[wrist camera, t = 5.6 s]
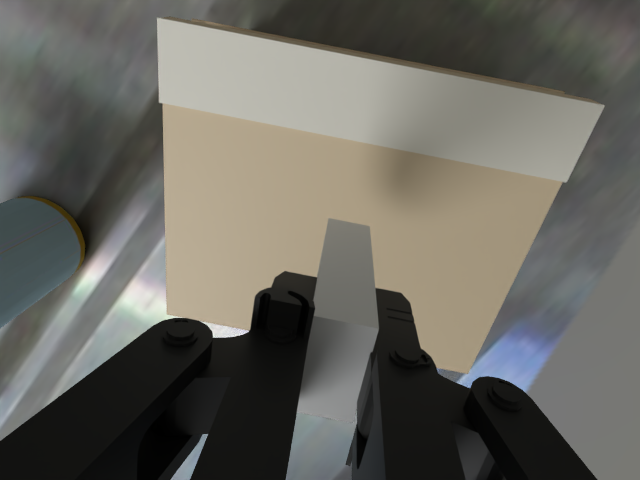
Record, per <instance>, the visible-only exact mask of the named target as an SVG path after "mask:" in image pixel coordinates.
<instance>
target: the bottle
mask: <svg viewBox="0 0 640 480" xmlns="http://www.w3.org/2000/svg"><path fill="white" fill-rule="evenodd" d="M84 256H85V243H84V239H83V236H82V233H81V230H80V228H79V227H78V225H77V224H76V222H75V220H74V219H73V218H72V217H71V216H70V215H69V214H68V213H67V212H66V211H65V210H64V209H63V208H61V207H60V206H58V205H57V204H55V203H53V202H51V201H49V200H47V199H43V198H40V197H36V196H22V197H17V198H15V199H11V200H8V201H6V202H3V203H0V328H1V327H3V326H4V325H5V324H7V323H8V322H10V321H11V320H12V319H14V318H15V317H16V316H18V315H19V314H20V313H22V312H23V311H25V310H26V309H27V308H29V307H30V306H31V305H33V304H34V303H35V302H37V301H38V300H40V299H41V298H42V297H44V296H45V295H46V294H48V293H49V292H50V291H52V290H53V289H54V288H56V287H57V286H59V285H60V284H61V283H63V282H64V281H65V280H67V279H68V278H69V277H70V276H71V275H73V274H74V273H75V272H76V271H77V270H78V269H79V268H80V266H81V264H82V262H83V260H84Z"/></svg>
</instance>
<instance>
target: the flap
mask: <svg viewBox="0 0 640 480" xmlns="http://www.w3.org/2000/svg"><path fill="white" fill-rule="evenodd" d="M157 36H158V78H159V103H163V146H164V197H165V248H166V299H167V314H168V315H173V316H178V317H183V318H189V319H193V320H198V321H203V322H208V323H213V324H218V325H223V326H228V327H234V328H239V329H244V330H250V327H251V320H252V313H253V306H254V299H255V296H256V294H257V293H258V292H259V291H261V290H263V289H266V288H270V287H271V286H272V284H273V281H274V278H275V277H276V276H278V275H279V274H281V273H282V272H284V271H288V272H293V273H298V274H303V275H308V276H313V277H317V273H318V268H319V263H320V258H321V253H322V248H323V243H324V238H325V233H326V228H327V223H328V218H331V219H336V220H341V221H346V222H352V223H357V224H362V225H367V226H370V234H371V246H372V257H373V268H374V279H375V288H380V289H385V290H390V291H395V292H400V293H402V294H403V295H404V296H405V298H406V299H407V300H408V301H409V302H410V304H411V309H412V315H413V317H414V323H415V326H416V330H417V335H418V339H419V343H420V347H421V349H423V350H424V351H425V352H426V353H427V354H429V355H430V356H431V357H432V359H433V361H434V363H435V365H436V368H440V369H446V370H451V371H456V372H461V373H466V374H468V373H469V371H470V369H471V367H472V365H473V363H474V361H475V359H476V357H477V355H478V353H479V351H480V349H481V347H482V344H483V342H484V340H485V338H486V336H487V334H488V332H489V330H490V328H491V326H492V324H493V322H494V320H495V318H496V316H497V314H498V312H499V310H500V308H501V306H502V304H503V302H504V300H505V298H506V296H507V294H508V292H509V290H510V288H511V286H512V284H513V282H514V280H515V278H516V276H517V274H518V272H519V269H520V267H521V265H522V263H523V261H524V259H525V257H526V255H527V253H528V251H529V249H530V247H531V245H532V243H533V241H534V239H535V237H536V235H537V233H538V231H539V229H540V227H541V225H542V223H543V221H544V219H545V217H546V215H547V213H548V211H549V209H550V207H551V205H552V203H553V201H554V199H555V197H556V195H557V192H558V190H559V188H560V186H561V184H562V182H566V183H567V181H568V179H569V177H570V175H571V173H572V171H573V169H574V167H575V165H576V163H577V161H578V159H579V157H580V155H581V153H582V151H583V149H584V147H585V145H586V143H587V141H588V139H589V137H590V135H591V133H592V131H593V129H594V127H595V125H596V123H597V121H598V119H599V117H600V115H601V113H602V111H603V109H604V107H605V105H602V104H599V103H598V102H596V101H594V100H592V99H587V98H582V97H577V96H572V95H567V94H562V93H557V92H552V91H547V90H541V89H536V88H531V87H526V86H521V85H516V84H511V83H506V82H501V81H496V80H490V79H485V78H480V77H475V76H470V75H465V74H460V73H455V72H450V71H445V70H439V69H434V68H429V67H424V66H419V65H414V64H409V63H404V62H399V61H393V60H388V59H383V58H378V57H373V56H368V55H363V54H358V53H353V52H348V51H342V50H337V49H332V48H327V47H322V46H317V45H312V44H307V43H302V42H297V41H291V40H286V39H281V38H276V37H271V36H266V35H261V34H256V33H251V32H246V31H240V30H235V29H230V28H225V27H220V26H215V25H210V24H205V23H200V22H195V21H189V20H184V19H179V18H174V17H164V18H157Z"/></svg>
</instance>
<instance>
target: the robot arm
mask: <svg viewBox="0 0 640 480" xmlns="http://www.w3.org/2000/svg"><path fill="white" fill-rule="evenodd" d="M356 410H357V425H356V429H355V432H354V436H353V440H352V443H351V447H350V450H349V454H348V457H347V461H346V465H349V466H350V465H351V462H352V480H597V479H596V478H595V476H594V475H593V474H592V473H591V471H590V470H589V469H588V468H587V466H586V465H585V464H584V463H583V461H582V460H581V459H580V458H579V457H578V456H577V454H576V453H575V452H574V450H573V449H572V448H571V447H570V445H569V444H568V443H567V442H566V441H565V439H564V438H563V437H562V436H561V434H560V433H559V432H558V431H557V429H556V428H555V427H554V426H553V425H552V423H551V422H550V421H549V420H548V418H547V417H546V416H545V415H544V413H543V412H542V411H541V410H540V409H539V407H538V406H537V405H536V404H535V402H534V401H533V400H532V399H531V398H530V397H529V396H528V395H527V394H526V393H525V392H524V391H523V390H521V389H520V388H518V387H517V386H515V385H513V384H512V383H510V382H508V381H505V380H503V379H500V378H495V377H489V376H487V377H479V378H477V379H476V380H475V381H473V383H472V385H471V388H467V387H465V386H463V385H460V384H458V383H455V382H453V381H451V380H449V379H447V378H445V377H443V376H441V375H440V374H438V372H437V369H436V365H435V363H434V361H433V359H432V357H431V356H430V355H429V354H427V353H426V352H425V351H424V350H423V349H421V347H420V343H419V339H418V335H417V330H416V326H415V323H414V317H413V315H412V309H411V304H410V302H409V301H408V300H407V299H406V298H405V296H404V295H403V294H402V293H400V292H395V291H390V290H385V289H380V288H375V279H374V268H373V257H372V246H371V234H370V226H367V225H362V224H357V223H352V222H346V221H341V220H336V219H331V218H328V223H327V228H326V233H325V238H324V243H323V248H322V253H321V258H320V263H319V268H318V273H317V277H313V276H308V275H303V274H298V273H293V272H288V271H284V272H282V273H281V274H279V275H278V276H276V277H275V278H274V281H273V284H272V286H271V287H270V288H266V289H263V290H261V291H259V292H258V293H257V294H256V296H255V299H254V306H253V313H252V320H251V327H250V330H249V332H248V333H246V334H244V335H240V336H236V337H228V338H213V335H212V331H211V330H210V328H209V327H208V326H207V325H205V324H204V323H202V322H200V321H198V320H193V319H189V318H173V319H168V320H164V321H161V322H159V323H157V324H156V325H154V326H152V327H151V328H150V329H148V330H147V331H146V332H144V333H143V334H142V335H140V336H139V337H138V338H136V339H135V340H134V341H132V342H131V343H130V344H128V345H127V346H126V347H124V348H123V349H122V350H120V351H119V352H118V353H116V354H115V355H114V356H112V357H111V358H110V359H108V360H107V361H106V362H104V363H103V364H102V365H100V366H99V367H98V368H96V369H95V370H94V371H93V372H91V373H90V374H89V375H87V376H86V377H85V378H83V379H82V380H81V381H79V382H78V383H77V384H75V385H74V386H73V387H71V388H70V389H69V390H67V391H66V392H65V393H63V394H62V395H61V396H59V397H58V398H57V399H55V400H54V401H53V402H51V403H50V404H49V405H47V406H46V407H45V408H43V409H42V410H41V411H40V412H38V413H37V414H36V415H34V416H33V417H32V418H30V419H29V420H28V421H26V422H25V423H24V424H22V425H21V426H20V427H18V428H17V429H16V430H14V431H13V432H12V433H10V434H9V435H8V436H6V437H5V438H4V439H2V440H1V441H0V480H170V479H171V478H172V477H173V475H174V474H175V473H176V471H177V470H178V469H179V467H180V466H181V465H182V463H183V462H184V461H185V459H186V458H187V457H188V455H189V454H190V453H191V452H192V450H193V449H194V448H195V446H196V445H197V444H198V442H199V440H200V438H201V436H202V434H208V436H207V439H206V441H205V444H204V446H203V449H202V451H201V454H200V456H199V459H198V461H197V464H196V466H195V469H194V471H193V474H192V476H191V479H190V480H286V474H287V468H288V462H289V456H290V450H291V444H292V438H293V432H294V426H295V420H296V414H297V412H299V413H304V414H309V415H314V416H319V417H324V418H329V419H334V420H339V421H344V422H349V423H353V421H354V418H355V414H356Z"/></svg>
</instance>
